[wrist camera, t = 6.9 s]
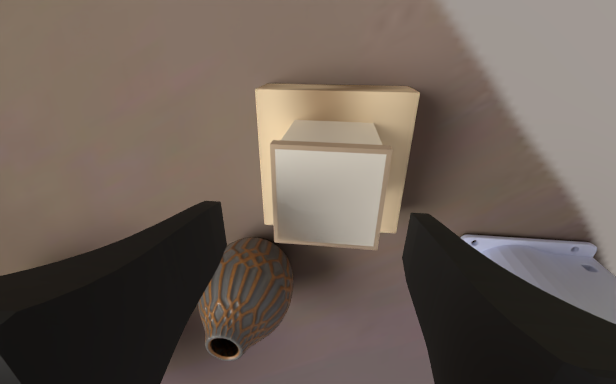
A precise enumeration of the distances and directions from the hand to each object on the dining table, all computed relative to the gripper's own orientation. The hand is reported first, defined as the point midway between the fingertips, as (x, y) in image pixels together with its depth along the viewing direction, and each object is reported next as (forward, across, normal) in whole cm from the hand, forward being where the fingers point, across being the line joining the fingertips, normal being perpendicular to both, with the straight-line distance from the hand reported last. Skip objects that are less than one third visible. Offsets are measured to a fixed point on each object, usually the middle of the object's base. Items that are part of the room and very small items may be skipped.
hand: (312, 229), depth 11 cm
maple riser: (+10, 0, 0) cm, 11 cm away
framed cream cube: (+8, 0, 0) cm, 8 cm away
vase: (+11, +6, +10) cm, 16 cm away
